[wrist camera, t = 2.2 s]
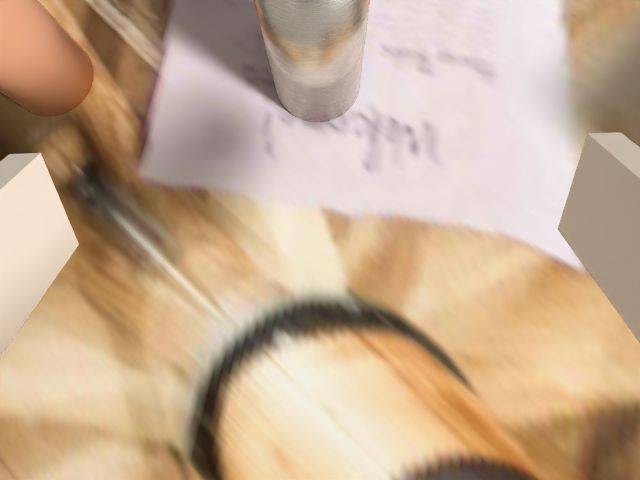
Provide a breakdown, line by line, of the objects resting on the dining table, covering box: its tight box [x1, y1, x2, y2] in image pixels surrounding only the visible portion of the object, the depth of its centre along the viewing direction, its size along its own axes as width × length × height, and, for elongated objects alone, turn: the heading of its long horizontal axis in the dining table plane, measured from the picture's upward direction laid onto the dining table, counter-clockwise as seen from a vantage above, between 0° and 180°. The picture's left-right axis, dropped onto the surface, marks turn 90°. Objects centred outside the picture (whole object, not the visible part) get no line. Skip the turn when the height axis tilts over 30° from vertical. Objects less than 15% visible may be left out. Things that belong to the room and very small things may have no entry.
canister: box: [0, 0, 94, 116], centre depth 24 cm, size 5×5×9 cm
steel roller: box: [254, 0, 370, 122], centre depth 23 cm, size 5×5×11 cm
